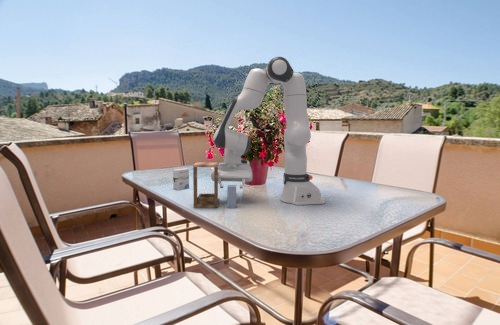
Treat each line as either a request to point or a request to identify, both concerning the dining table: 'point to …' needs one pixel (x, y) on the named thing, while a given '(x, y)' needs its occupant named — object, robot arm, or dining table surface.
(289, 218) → the dining table surface
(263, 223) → the dining table surface
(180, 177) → the ink box
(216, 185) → the wooden frame stand
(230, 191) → the peg
